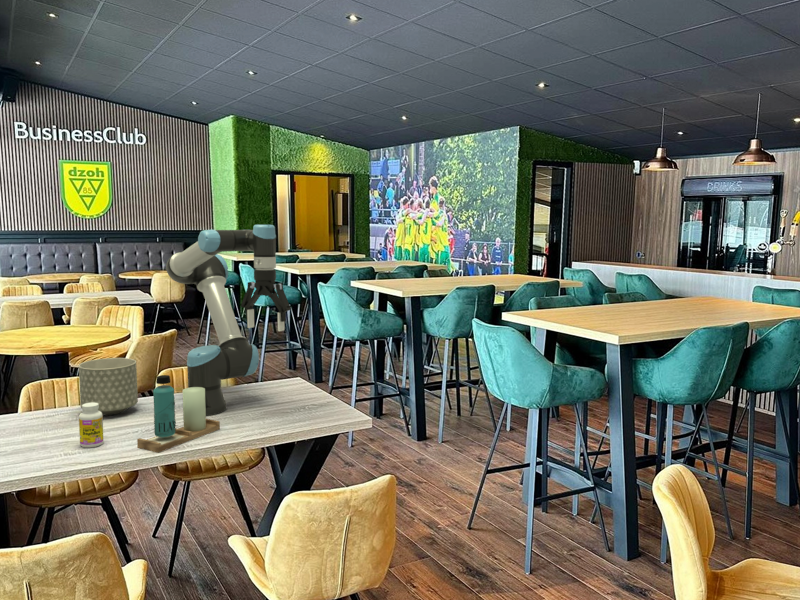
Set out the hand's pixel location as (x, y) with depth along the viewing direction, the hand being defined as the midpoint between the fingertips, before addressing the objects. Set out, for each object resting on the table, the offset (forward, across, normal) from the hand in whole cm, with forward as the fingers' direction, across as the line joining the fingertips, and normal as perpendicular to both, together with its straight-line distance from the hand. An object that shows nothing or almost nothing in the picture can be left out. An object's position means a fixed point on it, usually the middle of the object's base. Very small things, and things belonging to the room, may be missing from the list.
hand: (265, 329), depth 230 cm
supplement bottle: (+32, -28, -50) cm, 66 cm away
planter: (+32, -53, -24) cm, 66 cm away
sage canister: (+30, -9, -26) cm, 41 cm away
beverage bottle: (+30, -9, -38) cm, 50 cm away
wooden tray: (+32, -9, -32) cm, 46 cm away
